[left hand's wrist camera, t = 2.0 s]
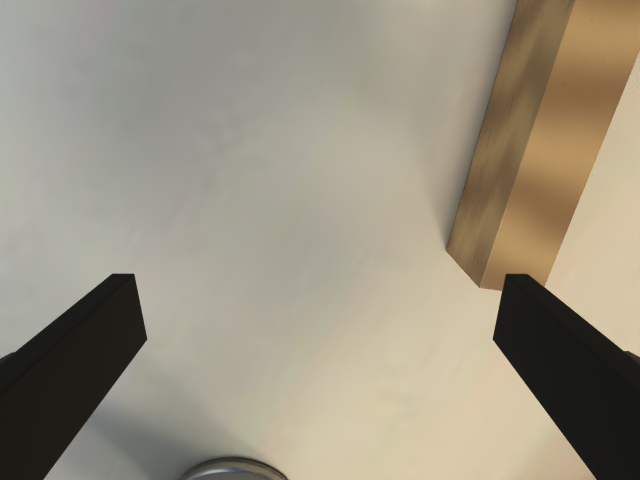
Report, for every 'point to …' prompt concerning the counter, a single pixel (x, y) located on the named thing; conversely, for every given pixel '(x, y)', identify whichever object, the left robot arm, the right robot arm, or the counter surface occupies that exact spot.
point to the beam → (542, 134)
